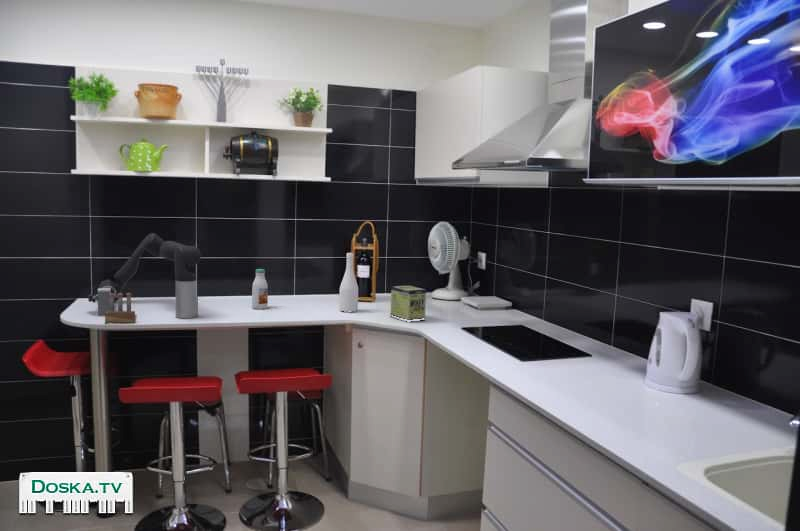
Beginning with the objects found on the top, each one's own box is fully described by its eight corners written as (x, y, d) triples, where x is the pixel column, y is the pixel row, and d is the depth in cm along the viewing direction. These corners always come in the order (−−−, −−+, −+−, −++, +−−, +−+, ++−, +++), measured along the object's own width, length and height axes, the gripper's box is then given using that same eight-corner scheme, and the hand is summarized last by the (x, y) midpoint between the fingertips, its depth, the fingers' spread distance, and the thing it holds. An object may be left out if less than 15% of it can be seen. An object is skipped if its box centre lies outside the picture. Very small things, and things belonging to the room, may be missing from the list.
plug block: (99, 313, 306) (98, 288, 305) (111, 313, 308) (110, 288, 307) (98, 315, 302) (97, 290, 300) (110, 315, 303) (109, 289, 302)
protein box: (408, 322, 313) (409, 290, 311) (389, 317, 326) (390, 286, 324) (425, 321, 319) (427, 289, 318) (406, 315, 332) (407, 284, 330)
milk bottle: (252, 309, 330) (252, 270, 328) (251, 306, 338) (252, 268, 335) (268, 309, 333) (268, 270, 330) (266, 306, 340) (267, 268, 338)
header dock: (108, 316, 301) (107, 289, 299) (136, 315, 305) (136, 288, 303) (105, 323, 286) (104, 295, 284) (134, 323, 290) (134, 294, 288)
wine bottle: (354, 313, 331) (356, 254, 327) (336, 312, 332) (338, 253, 329) (359, 310, 340) (361, 252, 336) (342, 308, 342) (343, 251, 338)
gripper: (90, 287, 315) (86, 292, 300) (123, 286, 320) (120, 292, 305) (91, 302, 316) (87, 308, 301) (123, 301, 321) (120, 307, 306)
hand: (104, 300), depth 303 cm, fingers open, 8 cm apart
